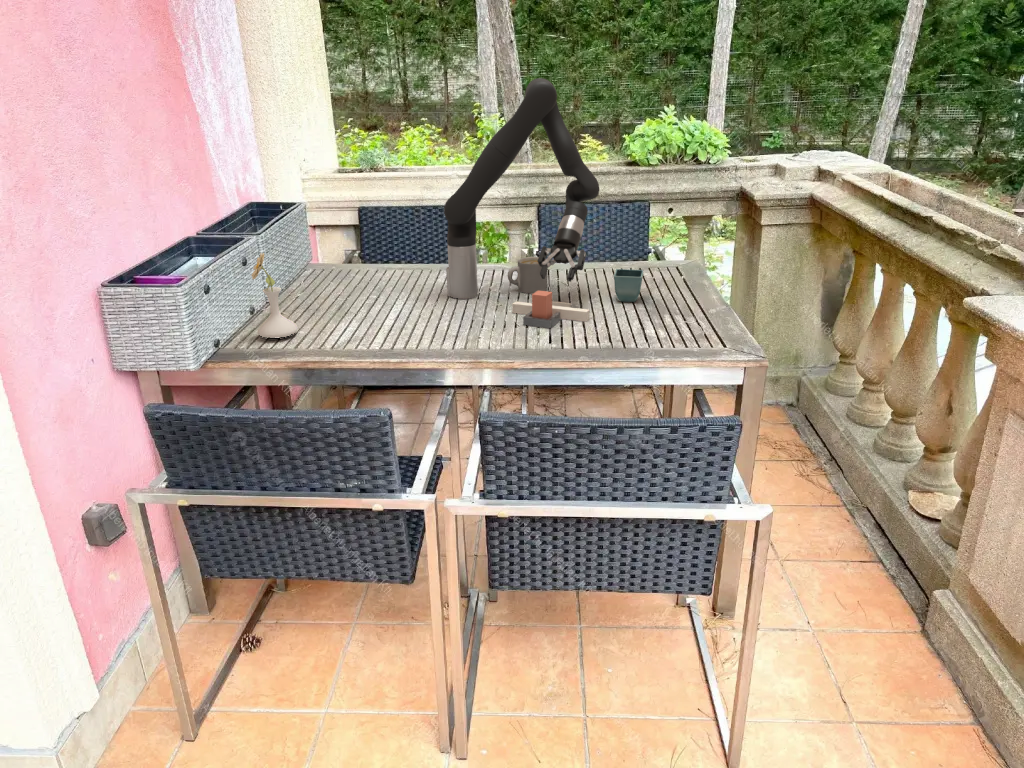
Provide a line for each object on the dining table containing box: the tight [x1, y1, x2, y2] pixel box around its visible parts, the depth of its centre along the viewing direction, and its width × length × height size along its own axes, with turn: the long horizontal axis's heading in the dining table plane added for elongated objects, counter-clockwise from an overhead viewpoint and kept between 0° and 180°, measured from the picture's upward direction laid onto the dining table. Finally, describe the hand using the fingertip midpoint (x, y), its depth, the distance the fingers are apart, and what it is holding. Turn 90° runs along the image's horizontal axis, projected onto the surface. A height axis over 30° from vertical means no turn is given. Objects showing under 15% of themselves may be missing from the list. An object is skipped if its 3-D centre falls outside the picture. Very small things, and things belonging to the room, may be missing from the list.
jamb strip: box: [511, 300, 590, 323], centre depth 237 cm, size 24×11×3 cm, turn 66°
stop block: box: [531, 290, 553, 319], centre depth 227 cm, size 4×4×9 cm
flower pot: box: [613, 268, 644, 303], centre depth 246 cm, size 9×9×9 cm
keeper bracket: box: [522, 311, 561, 329], centre depth 228 cm, size 8×8×2 cm
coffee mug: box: [507, 256, 548, 295], centre depth 260 cm, size 13×10×10 cm
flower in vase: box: [250, 252, 299, 338], centre depth 217 cm, size 13×11×25 cm
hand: (555, 279), depth 234 cm, fingers open, 8 cm apart
